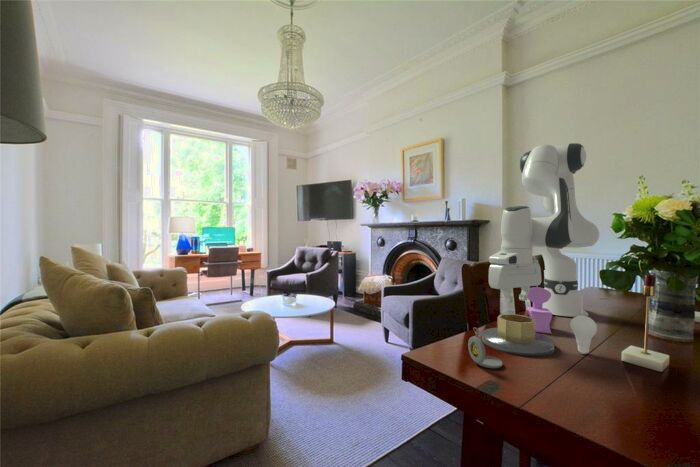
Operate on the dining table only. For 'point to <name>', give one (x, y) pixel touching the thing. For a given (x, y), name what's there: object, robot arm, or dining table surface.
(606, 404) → the dining table surface
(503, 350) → the lamp base
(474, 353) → the pocket watch
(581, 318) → the lightbulb
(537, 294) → the toy chair
